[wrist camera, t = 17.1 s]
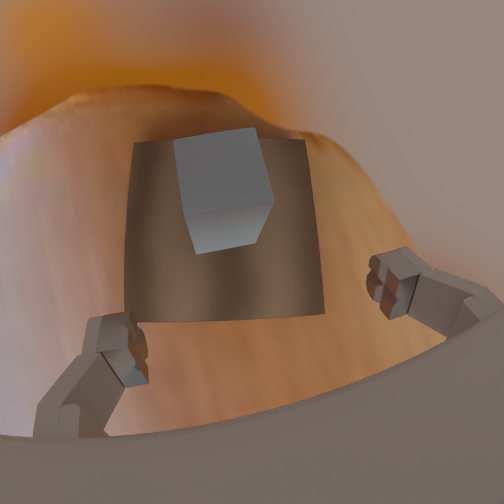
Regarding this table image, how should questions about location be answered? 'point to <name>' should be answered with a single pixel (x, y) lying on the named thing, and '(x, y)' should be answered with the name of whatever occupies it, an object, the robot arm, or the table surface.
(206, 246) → the slate block
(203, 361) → the table surface
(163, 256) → the walnut plinth
